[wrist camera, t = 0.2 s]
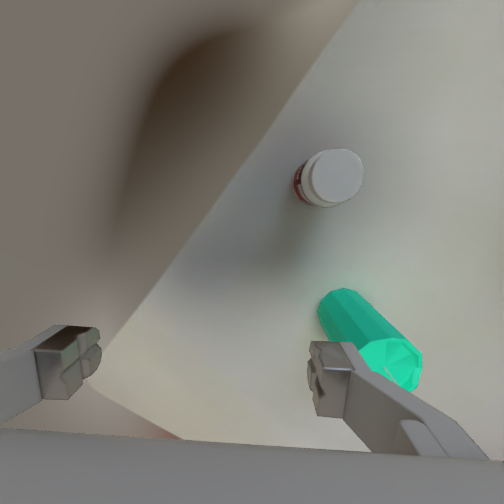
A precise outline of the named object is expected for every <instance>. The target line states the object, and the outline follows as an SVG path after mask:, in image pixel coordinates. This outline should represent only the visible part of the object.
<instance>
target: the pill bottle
mask: <svg viewBox="0 0 504 504" xmlns="http://www.w3.org/2000/svg"><path fill="white" fill-rule="evenodd" d="M363 181H364V167H363V164H362V162H361V160H360V158H359V157H358V156H357V155H356V154H355V153H353V152H352V151H350V150H347V149H333V150H324V151H321V152H319V153H317V154H315V155H314V156H312V157H311V158H310V159H309V160H307V161H306V162H305V163H304V164H302V165H301V166H300V167H299V168H298V170H297V171H296V173H295V175H294V178H293V190H294V193H295V195H296V197H297V198H298V199H299V200H300V201H301V202H303V203H305V204H308V205H313V206H320V207H334V206H337V205H339V204H341V203H343V202H345V201H347V200H349V199H351V198H352V197H353V196H355V195H356V194H357V192H358V191H359V190H360V188H361V186H362V184H363Z"/></svg>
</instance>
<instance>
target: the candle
mask: <svg viewBox="0 0 504 504" xmlns="http://www.w3.org/2000/svg"><path fill="white" fill-rule="evenodd" d="M318 315H319V319H320V323H321V325H322V327H323V329H324V331H325V333H326V335H327V337H328V339H329V341H330V342H352V343H353V344H354V345H355V347H356V348H357V350H358V351H359V353H360V354H361V356H362V357H363V359H364V360H365V362H366V363H367V365H368V366H369V368H370V369H371V371H372V372H378V373H379V374H381V375H382V376H384V377H386V378H387V379H389V380H390V381H392V382H394V383H395V384H397V385H398V386H400V387H402V388H403V389H405V390H406V391H408V392H412V391H413V390H414V389H415V388H417V386H418V382H419V378H420V374H421V370H422V354H421V353H420V352H419V351H418V350H417V349H416V348H415V347H414V346H413V345H412V344H411V343H410V342H409V341H408V340H407V339H406V338H405V337H404V336H403V335H402V334H401V333H400V332H399V331H398V330H396V329H395V328H394V327H393V326H392V325H391V324H390V323H389V322H388V321H387V320H386V319H385V318H384V317H383V316H382V315H381V314H379V313H378V312H377V311H376V310H375V309H374V308H373V307H372V306H371V305H370V304H369V303H368V302H367V301H366V300H365V299H363V298H362V297H361V296H360V295H359V294H358V293H357V292H356V291H352V290H348V289H344V288H343V289H339V290H335V291H331V292H330V293H329V294H328V295H326V296H325V297H324V298H323V299H322V300H321V303H320V306H319V309H318Z"/></svg>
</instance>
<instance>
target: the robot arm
mask: <svg viewBox="0 0 504 504" xmlns="http://www.w3.org/2000/svg"><path fill="white" fill-rule="evenodd" d="M99 339H100V334H99V330H98V329H97V328H93V327H81V326H68V325H54V326H51V327H50V328H48V329H47V330H45V331H43V332H42V333H40V334H38V335H37V336H35V337H34V338H32V339H30V340H29V341H27V342H25V343H24V344H22V345H20V346H19V347H17V348H16V349H8V350H6V351H2V352H0V425H2V424H3V423H5V422H7V421H8V420H10V419H12V418H13V417H15V416H17V415H18V414H20V413H22V412H24V411H25V410H27V409H29V408H30V407H32V406H34V405H35V404H37V403H39V402H40V401H42V399H52V400H53V399H55V400H68V399H69V398H70V397H71V396H72V395H73V394H74V393H75V392H76V391H77V390H78V389H79V388H80V387H81V386H82V384H83V379H85V378H87V377H89V376H91V375H92V374H93V373H94V372H95V371H96V370H97V368H98V366H99V364H100V362H101V357H102V351H101V348H100V347H99V345H98V344H97V342H98V341H99ZM309 352H310V355H311V359H310V360H309V361H308V366H307V378H308V384H309V388H310V390H311V391H313V403H314V406H315V410H316V413H317V416H322V417H332V418H343V420H344V421H345V422H346V424H347V425H348V426H349V427H350V428H351V429H352V430H353V431H354V432H355V434H356V435H357V436H358V437H359V438H360V439H361V440H362V441H363V442H364V443H365V445H366V446H367V447H368V448H369V449H370V450H371V451H372V452H358V451H343V450H326V449H311V448H296V447H281V446H266V445H251V444H236V443H222V442H207V441H192V440H176V439H161V438H144V437H130V436H114V435H99V434H84V433H69V432H53V431H39V430H24V429H8V428H0V504H504V461H494V460H490V459H489V458H488V457H487V455H486V454H485V453H484V452H483V451H482V450H481V449H480V448H479V446H478V445H477V444H476V443H475V442H474V441H473V440H472V439H471V437H470V436H469V435H468V434H467V433H466V432H465V431H464V430H463V428H462V427H461V426H460V425H459V424H458V423H457V422H456V421H455V420H453V419H451V418H450V417H448V416H447V415H445V414H443V413H442V412H440V411H439V410H437V409H435V408H434V407H432V406H431V405H429V404H427V403H426V402H424V401H423V400H421V399H419V398H418V397H416V396H415V395H413V394H411V393H410V392H408V391H406V390H405V389H403V388H402V387H400V386H398V385H397V384H395V383H394V382H392V381H390V380H389V379H387V378H386V377H384V376H382V375H381V374H379V373H378V372H372V371H371V369H370V368H369V366H368V365H367V363H366V362H365V360H364V359H363V357H362V356H361V354H360V353H359V351H358V350H357V348H356V347H355V345H354V344H353V343H352V342H327V341H311V343H310V348H309Z"/></svg>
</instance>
